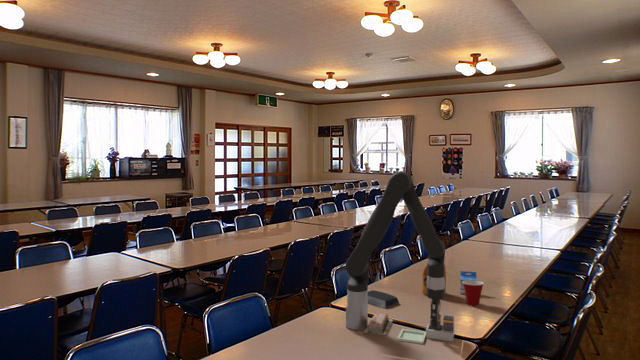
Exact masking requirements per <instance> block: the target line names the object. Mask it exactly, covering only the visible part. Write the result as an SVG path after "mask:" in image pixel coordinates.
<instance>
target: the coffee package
mask: <svg viewBox="0 0 640 360" xmlns="http://www.w3.org/2000/svg"><path fill="white" fill-rule="evenodd" d="M426 259H427V260H428V261H427V264H426V266H425V268H424V270H423V272H422V290H421V291H422V294H423V295H425V296H427V267H428V262H429V255H428V256H427V258H426ZM446 272H447V271H446V264H445V263H444V279H445V294H446V291H447V289H446V287H447V284H446V283H447V275H446V274H447V273H446Z"/></svg>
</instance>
